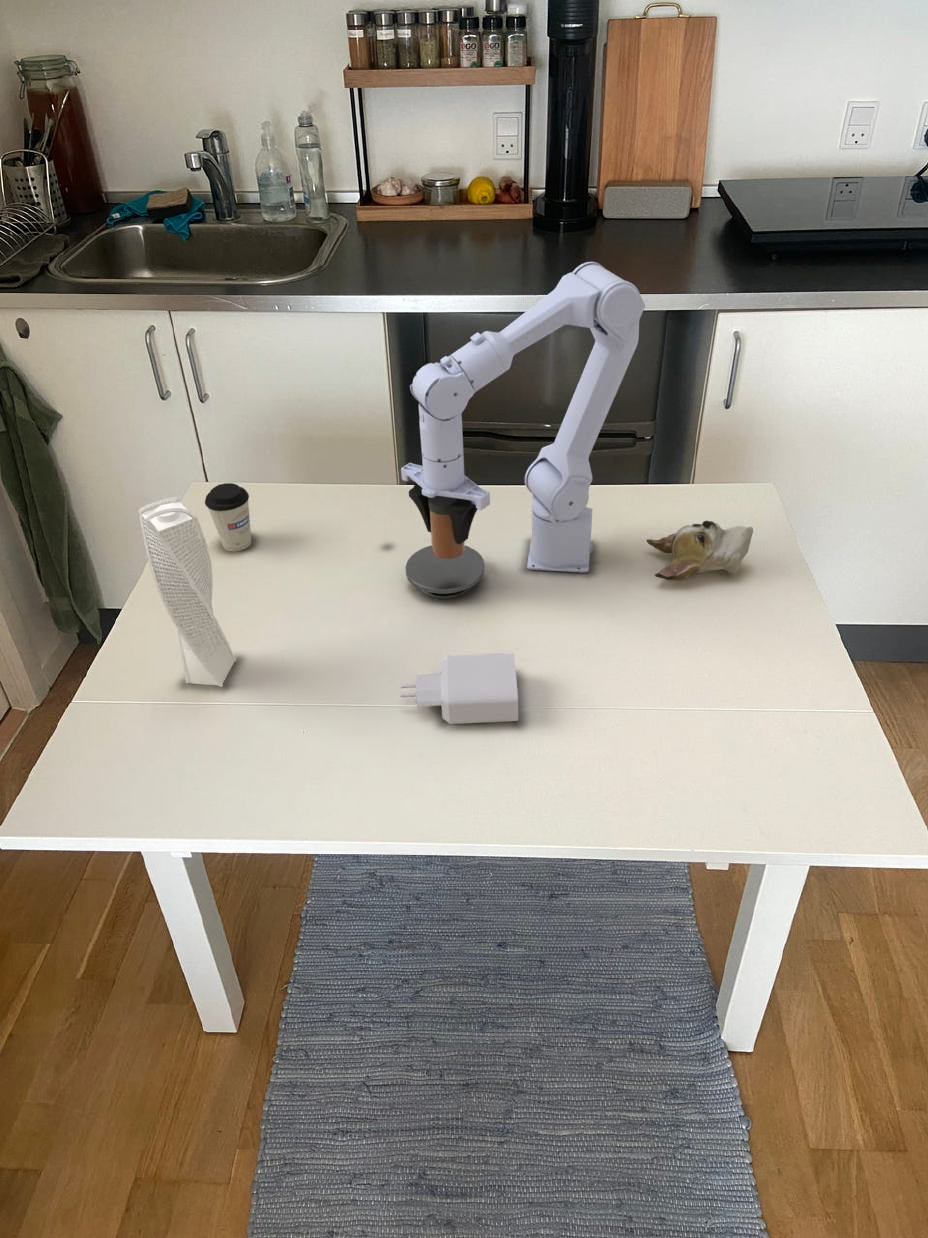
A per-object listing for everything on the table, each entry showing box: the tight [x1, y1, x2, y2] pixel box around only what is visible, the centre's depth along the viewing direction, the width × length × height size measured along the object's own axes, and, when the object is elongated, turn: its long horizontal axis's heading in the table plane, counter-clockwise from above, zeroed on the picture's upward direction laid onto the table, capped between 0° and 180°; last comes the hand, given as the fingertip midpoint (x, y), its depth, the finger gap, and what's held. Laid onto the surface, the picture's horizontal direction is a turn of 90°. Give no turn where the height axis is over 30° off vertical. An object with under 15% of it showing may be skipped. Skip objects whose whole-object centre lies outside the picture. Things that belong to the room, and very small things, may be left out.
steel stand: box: [405, 544, 486, 600], centre depth 142 cm, size 12×12×3 cm
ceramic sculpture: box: [646, 520, 754, 582], centre depth 141 cm, size 11×9×15 cm
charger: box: [400, 652, 519, 725], centre depth 121 cm, size 5×9×15 cm
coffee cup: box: [204, 482, 252, 552], centre depth 151 cm, size 7×7×10 cm
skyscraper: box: [137, 496, 237, 688], centre depth 120 cm, size 8×8×28 cm
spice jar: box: [428, 496, 466, 559], centre depth 135 cm, size 5×5×9 cm
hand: (447, 534), depth 137 cm, fingers closed on spice jar, 5 cm apart
